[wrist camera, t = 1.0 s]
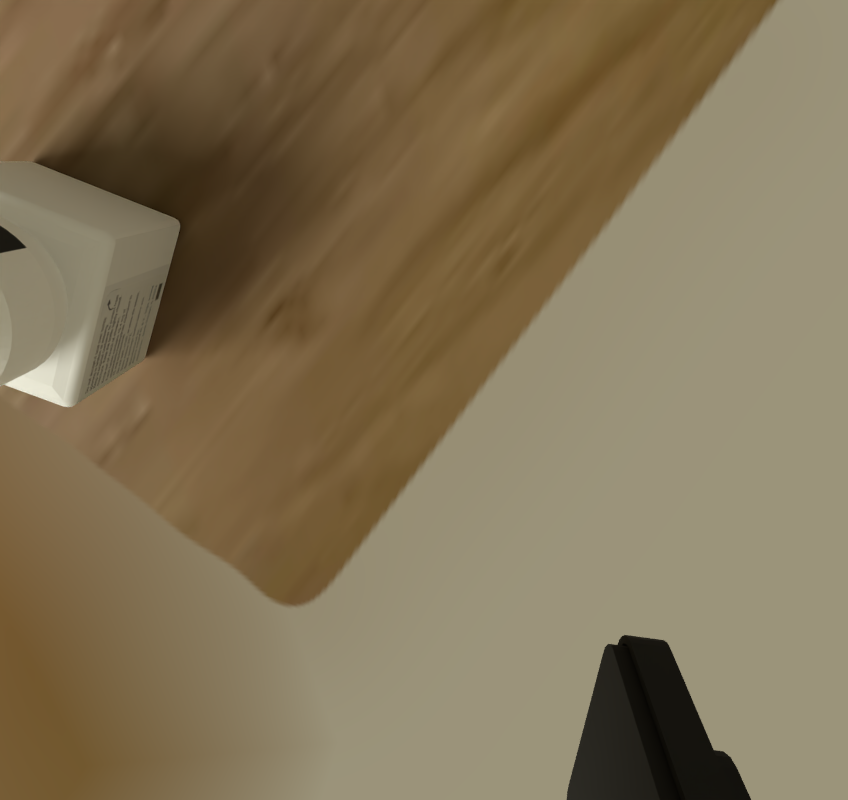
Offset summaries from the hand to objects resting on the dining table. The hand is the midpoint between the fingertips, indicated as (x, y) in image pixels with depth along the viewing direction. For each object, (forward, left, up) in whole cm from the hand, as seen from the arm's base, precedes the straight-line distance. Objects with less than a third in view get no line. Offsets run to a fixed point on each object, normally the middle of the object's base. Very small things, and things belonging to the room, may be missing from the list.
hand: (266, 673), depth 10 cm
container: (+12, -10, -27) cm, 31 cm away
